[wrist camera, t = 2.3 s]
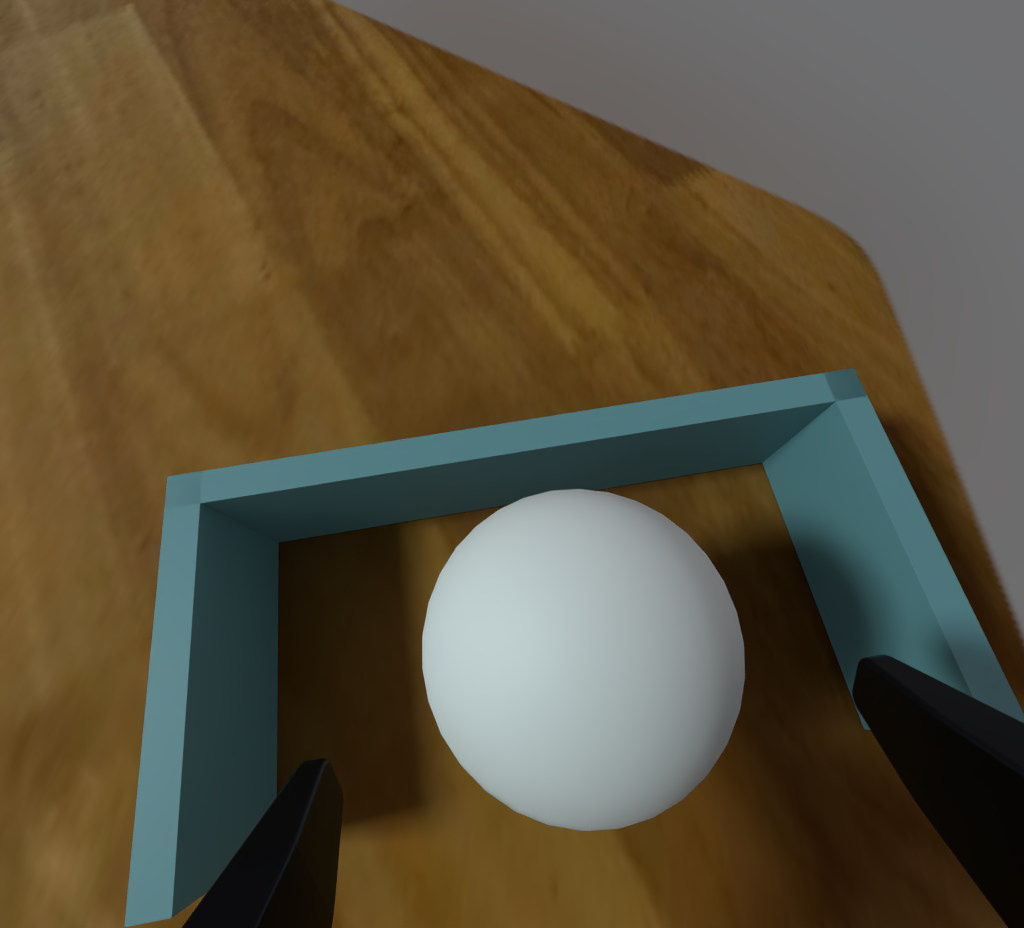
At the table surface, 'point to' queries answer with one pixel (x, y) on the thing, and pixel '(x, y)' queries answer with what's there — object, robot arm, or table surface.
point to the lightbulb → (583, 659)
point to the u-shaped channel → (490, 483)
